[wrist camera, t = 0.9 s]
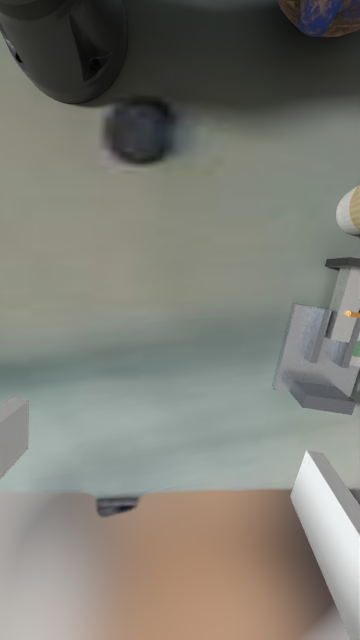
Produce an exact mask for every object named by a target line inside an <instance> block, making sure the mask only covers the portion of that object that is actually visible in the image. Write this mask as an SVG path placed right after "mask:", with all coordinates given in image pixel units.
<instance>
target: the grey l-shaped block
mask: <svg viewBox="0 0 360 640" xmlns="http://www.w3.org/2000/svg"><path fill="white" fill-rule="evenodd" d="M331 312H332V311H331V310H328V308H321V307H314V306H307V305H300V304H293V303H292V306H291V310H290V314H289V318H288V323H287V327H286V331H285V335H284V339H283V343H282V347H281V351H280V355H279V359H278V363H277V367H276V371H275V375H274V379H273V383H272V386H273V388H274V389H276V390H283V391H289V392H291V394H292V395H293V396H294V397H295V399H296V400H297V401H298V402H299V404H300V405H301V406H302V407H303V408H310V409H316V410H323V411H329V412H336V413H342V414H349V415H352V413H353V410H354V407H355V404H356V402H355V401H353V400H352V399H351V398H350V396H351V393H352V390H353V387H354V384H355V381H356V378H357V375H358V372H359V369H360V318H357V319H356V322H355V325H354V328H353V331H352V335H351V338H350V341H349V343H348V342H341V341H334V340H330V339H328V338H326V337H325V333H326V330H327V326H328V323H329V319H330V316H331Z"/></svg>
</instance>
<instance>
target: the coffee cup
mask: <svg viewBox="0 0 360 640" xmlns="http://www.w3.org/2000/svg"><path fill="white" fill-rule="evenodd" d="M336 219H337V223H338V225H339V227H340V228H341V229H342V230H343V231H345V232H346V233H348V234H352V235H360V185H358V186H357V187H356V188H354V189H353V190H351V191H350V192H348V193H347V194H346V195H345V196H344V197H343V198H342V199H341V201H340V203H339V205H338V207H337V212H336Z"/></svg>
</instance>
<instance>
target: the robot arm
mask: <svg viewBox="0 0 360 640" xmlns="http://www.w3.org/2000/svg"><path fill="white" fill-rule="evenodd" d="M0 31H1V33H2V35H3V37H4V39H5V41H6V44H7V46H8V48H9V50H10V52H11V54H12V56H13V57H14V59H15V61H16V62H17V64H18V65H19V66H20V68H21V69H22V70H23V72H24V73H25V74H26V75H27V76H28V77H29V79H30V80H31V81H32V82H33V83H34V84H35V86H36V87H37V88H39V89H40V90H41V91H42V92H43V93H45V94H46V95H48V96H49V97H51V98H53V99H56V100H58V101H62V102H66V103H81V102H86V101H89V100H92V99H94V98H96V97H97V96H99V95H100V94H102V93H103V92H104V91H105V90H107V89H108V88H109V87H110V85H111V84H112V83H113V82H114V80H115V79H116V77H117V75H118V74H119V72H120V70H121V67H122V65H123V62H124V59H125V55H126V50H127V42H128V27H127V19H126V14H125V10H124V6H123V2H122V0H0ZM28 420H29V400H28V399H22V398H17V397H12V398H10V399H9V400H8V401H6V402H5V403H4V404H2V405H1V406H0V479H1V478H2V477H3V476H4V475H5V473H6V472H7V471H8V470H9V469H10V468H11V467H12V466H13V465H14V464H15V462H16V461H17V460H18V459H19V458H20V457H21V456H22V455H23V454H24V452H25V451H26V450H27V449H28ZM290 498H291V500H292V503H293V505H294V507H295V510H296V512H297V514H298V517H299V519H300V521H301V524H302V526H303V528H304V531H305V533H306V535H307V538H308V540H309V543H310V545H311V547H312V549H313V552H314V554H315V557H316V559H317V561H318V564H319V566H320V569H321V571H322V573H323V575H324V578H325V580H326V583H327V585H328V587H329V589H330V592H331V594H332V597H333V599H334V602H335V604H336V606H337V608H338V611H339V613H340V616H341V618H342V620H343V623H344V625H345V628H346V630H347V632H348V635H349V637H350V639H351V640H360V505H359V504H358V502H357V501H356V500H355V498H354V497H353V496H352V494H351V492H350V491H349V490H348V488H347V487H346V485H345V484H344V482H343V481H342V480H341V478H340V477H339V475H338V474H337V472H336V471H335V470H334V468H333V467H332V465H331V464H330V462H329V461H328V460H327V458H326V457H325V455H324V454H323V453H319V452H314V451H308V450H307V451H306V453H305V456H304V459H303V462H302V465H301V468H300V470H299V473H298V476H297V479H296V482H295V484H294V487H293V490H292V493H291V496H290Z"/></svg>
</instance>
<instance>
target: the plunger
mask: <svg viewBox="0 0 360 640" xmlns="http://www.w3.org/2000/svg"><path fill="white" fill-rule="evenodd" d="M325 266H326V267H333V268H340V270H339V274H338V277H337V281H336V284H335V288H334V292H333V295H332V299H331V302H330V306H329V309H328V310H331V311H332V312H331V316H330V319H329V323H328V326H327V330H326V333H325V337H326V338H328V339H330V340H334V341H341V342H348V343H349V341H350V338H351V335H352V331H353V328H354V325H355V322H356V319H357V318H360V313H358V312H359V309H360V259H358V258H351V257H349V258H337V259H327V261H326V264H325Z"/></svg>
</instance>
